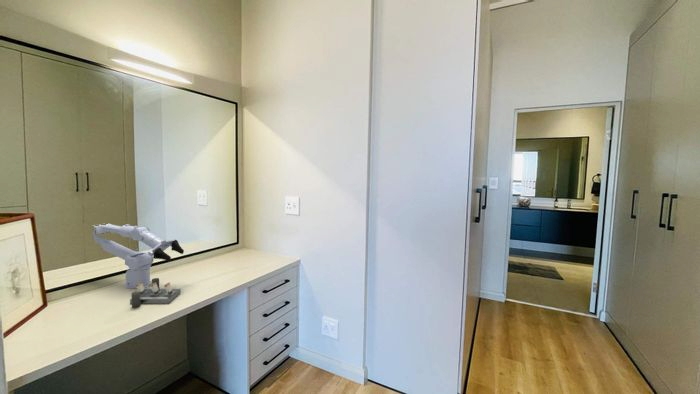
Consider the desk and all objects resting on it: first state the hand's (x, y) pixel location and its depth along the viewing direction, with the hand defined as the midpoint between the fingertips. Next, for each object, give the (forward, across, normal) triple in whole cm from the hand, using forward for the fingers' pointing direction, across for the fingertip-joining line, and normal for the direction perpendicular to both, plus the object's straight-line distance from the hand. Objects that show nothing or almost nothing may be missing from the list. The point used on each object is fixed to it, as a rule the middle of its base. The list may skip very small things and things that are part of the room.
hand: (176, 255), depth 140 cm
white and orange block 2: (+4, -13, +12) cm, 18 cm away
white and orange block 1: (-1, -15, +13) cm, 20 cm away
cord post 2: (0, -8, +18) cm, 20 cm away
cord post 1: (+3, -22, +14) cm, 26 cm away
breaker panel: (+5, -13, +14) cm, 20 cm away
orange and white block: (+9, -10, +10) cm, 17 cm away
